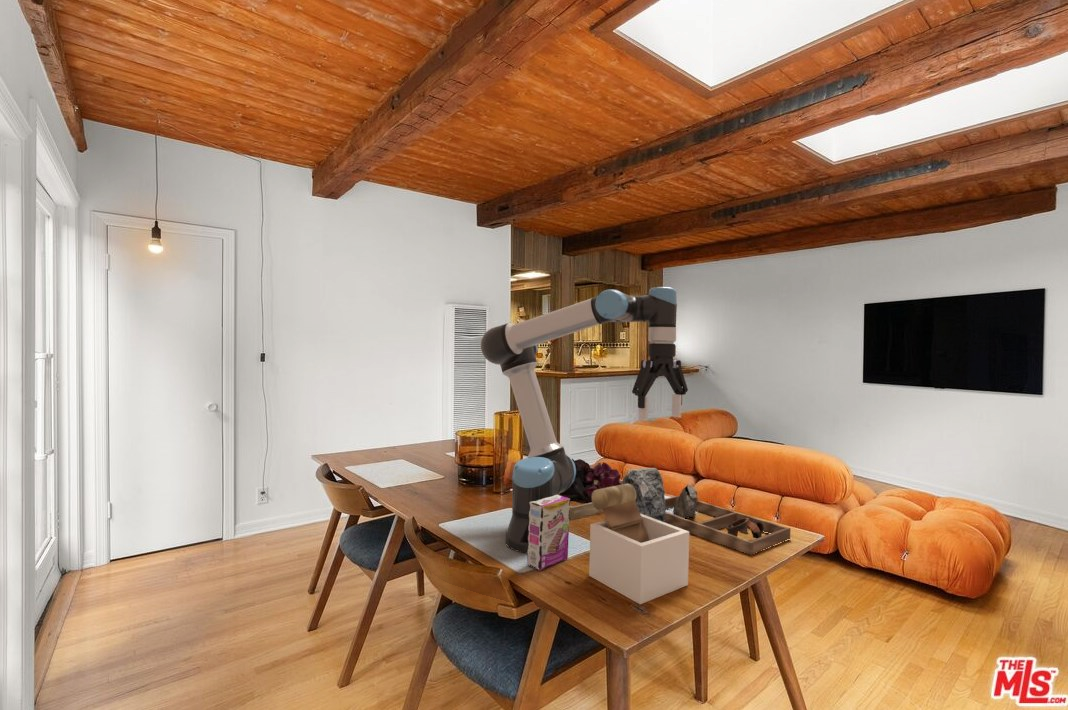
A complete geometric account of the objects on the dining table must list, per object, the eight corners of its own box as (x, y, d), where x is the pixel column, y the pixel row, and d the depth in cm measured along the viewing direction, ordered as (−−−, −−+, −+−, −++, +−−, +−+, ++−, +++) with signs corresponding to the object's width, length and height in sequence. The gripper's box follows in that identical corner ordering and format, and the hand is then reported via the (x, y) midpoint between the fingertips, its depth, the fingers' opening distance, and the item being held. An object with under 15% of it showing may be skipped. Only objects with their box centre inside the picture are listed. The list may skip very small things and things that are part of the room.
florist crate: (521, 497, 187) (521, 486, 187) (600, 482, 210) (600, 473, 210) (571, 520, 164) (571, 507, 163) (653, 500, 187) (654, 489, 187)
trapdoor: (586, 493, 127) (597, 487, 124) (622, 486, 135) (634, 480, 132) (615, 577, 119) (628, 572, 115) (652, 564, 127) (665, 559, 123)
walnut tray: (640, 514, 170) (641, 504, 170) (680, 504, 183) (680, 495, 183) (751, 555, 138) (751, 543, 138) (790, 540, 150) (790, 528, 150)
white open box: (589, 575, 124) (590, 524, 123) (635, 560, 133) (637, 512, 133) (640, 604, 110) (641, 546, 110) (688, 584, 120) (689, 531, 120)
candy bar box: (540, 572, 125) (542, 506, 125) (526, 565, 129) (527, 501, 128) (569, 559, 133) (570, 497, 133) (555, 553, 137) (556, 493, 136)
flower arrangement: (538, 495, 190) (539, 456, 190) (570, 485, 205) (571, 449, 205) (608, 514, 169) (609, 470, 169) (638, 502, 184) (639, 461, 184)
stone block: (638, 546, 143) (640, 476, 143) (614, 536, 150) (615, 470, 150) (674, 531, 155) (676, 467, 155) (650, 523, 162) (652, 462, 162)
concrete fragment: (683, 506, 181) (684, 475, 181) (705, 525, 162) (706, 491, 161) (666, 506, 180) (667, 475, 180) (686, 525, 161) (687, 491, 161)
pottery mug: (756, 555, 140) (740, 526, 142) (730, 558, 148) (716, 531, 149) (778, 535, 147) (763, 509, 149) (753, 539, 154) (739, 514, 156)
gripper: (680, 343, 151) (678, 414, 151) (620, 341, 137) (618, 419, 137) (701, 343, 145) (699, 417, 145) (640, 341, 131) (638, 423, 131)
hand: (660, 418), depth 141 cm, fingers open, 13 cm apart
